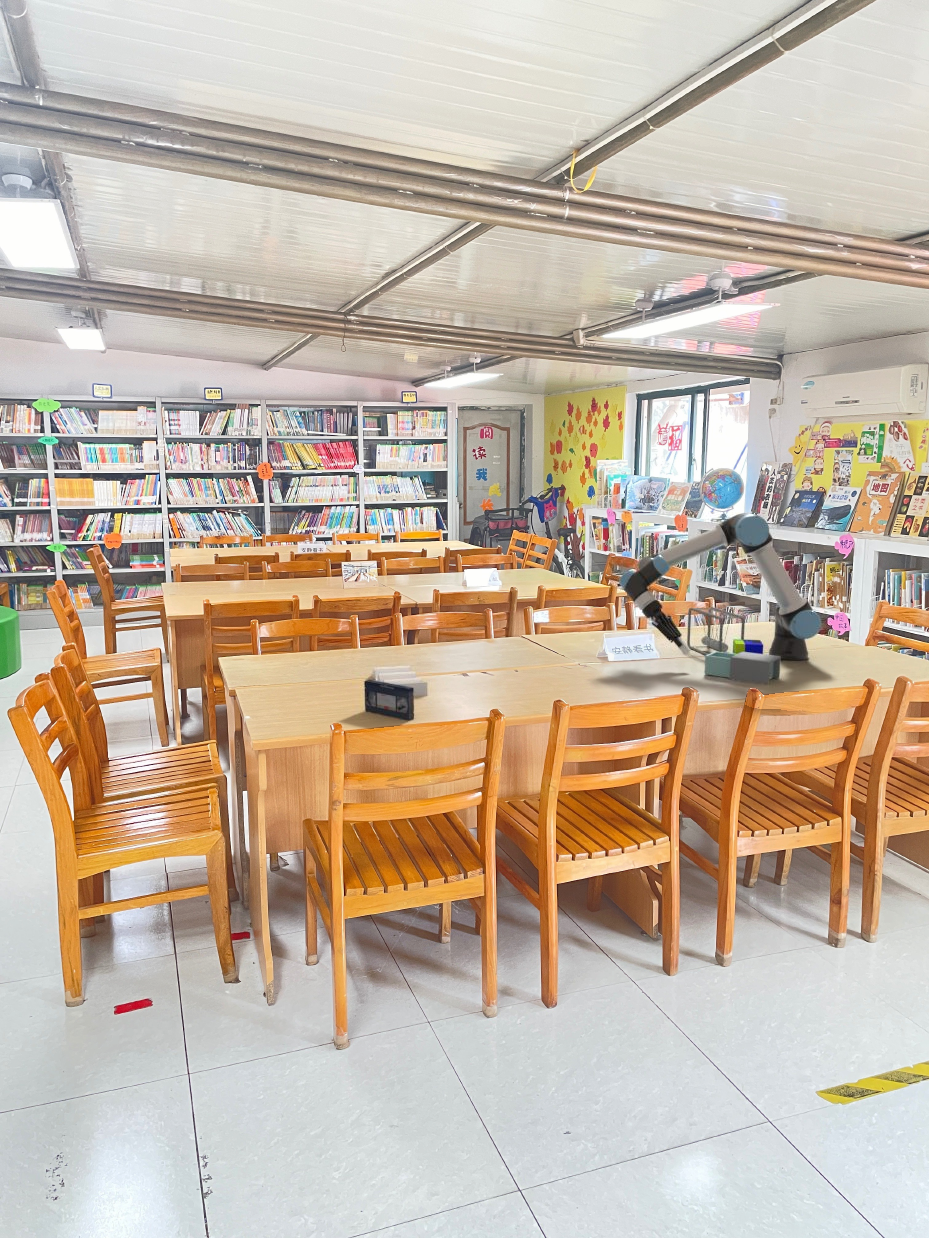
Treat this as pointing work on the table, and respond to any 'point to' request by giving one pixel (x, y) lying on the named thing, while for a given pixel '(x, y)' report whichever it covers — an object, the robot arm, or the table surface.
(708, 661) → the sliding matchbox
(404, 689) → the vhs cassette tape
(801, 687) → the table surface
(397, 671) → the file organizer
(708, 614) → the newton's cradle
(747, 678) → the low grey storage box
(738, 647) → the puzzle toy
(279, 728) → the table surface
